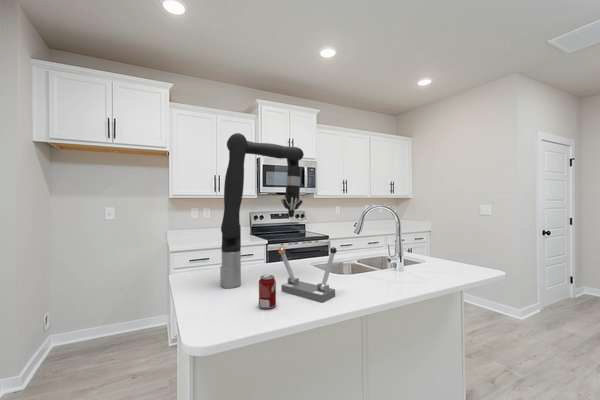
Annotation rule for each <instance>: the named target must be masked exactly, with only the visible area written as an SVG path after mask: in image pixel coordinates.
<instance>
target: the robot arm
mask: <svg viewBox="0 0 600 400" xmlns="http://www.w3.org/2000/svg"><path fill="white" fill-rule="evenodd" d="M226 148H227V150H228V157H229V158H228V164H227V168H226V173H225V177H224V185H223V186H224V187H223V204H224V205H223V206H224V207H223V209H224V210H223V215H222V216H223V217H222V221H221V222H222V223H221V227H220V231H221V266H220V270H219V271H220V272H219V273H220V275H219V276H220V277H219V278H220V283H219V284H220V286H221V287H222V288H223V289H233V288H238V287H240V286H241V285H242V271H241V270H242V266H241V264H242V261H241V257H242V256H241V255H242V254H241V250H242V249H241V247H242V246H241V243H242V241H241V239H242V238H241V236H242V233H241V231H242V229H241V224H240V221H241V220H240V210H241V204H242V200H243V195H244V194H243V193H244V183H245V182H244V181H245V158H246V154H248V155H258V156H263V157H268V158H274V159H279V160H282V159H286V165H287V176H286V182H285V183H286V185H285V196H284V198H282V199H280V201H281V203H282V204H283V207H284V209H286V210H288V211H287V213H288V214H287V216H288V217H289V218H294V216H295V210H298V209H299V207H300V206H301V205H302V203H303V201H304V200H302V199H300V192H301V167H300V166H299V161H300V160H302V159H303V158H304V154H305V153H304V151H303V149H302V148H300V147H299V146H298V147H297V146H290V145H289V146H288V145H282V144H281V145H280V144H275V143H269V142H268V143H267V142H254V141H249V140H247V137H246V136H245V135H244V134H243V133H240V132H236V133H233V134H232V135H230V136H229V137H228V139H227V141H226Z"/></svg>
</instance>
